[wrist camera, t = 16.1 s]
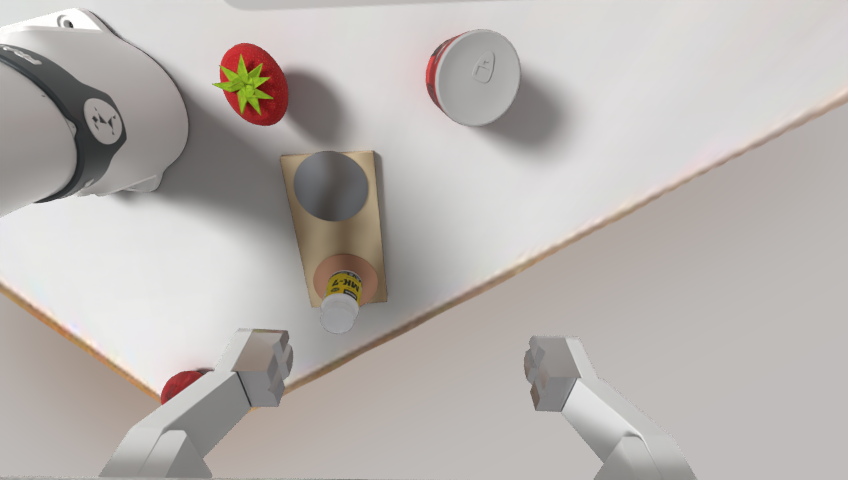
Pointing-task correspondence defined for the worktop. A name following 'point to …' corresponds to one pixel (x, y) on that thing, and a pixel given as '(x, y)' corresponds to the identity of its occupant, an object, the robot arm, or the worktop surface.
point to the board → (336, 219)
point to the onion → (178, 384)
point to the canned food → (474, 77)
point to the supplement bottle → (341, 301)
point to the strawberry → (254, 84)
